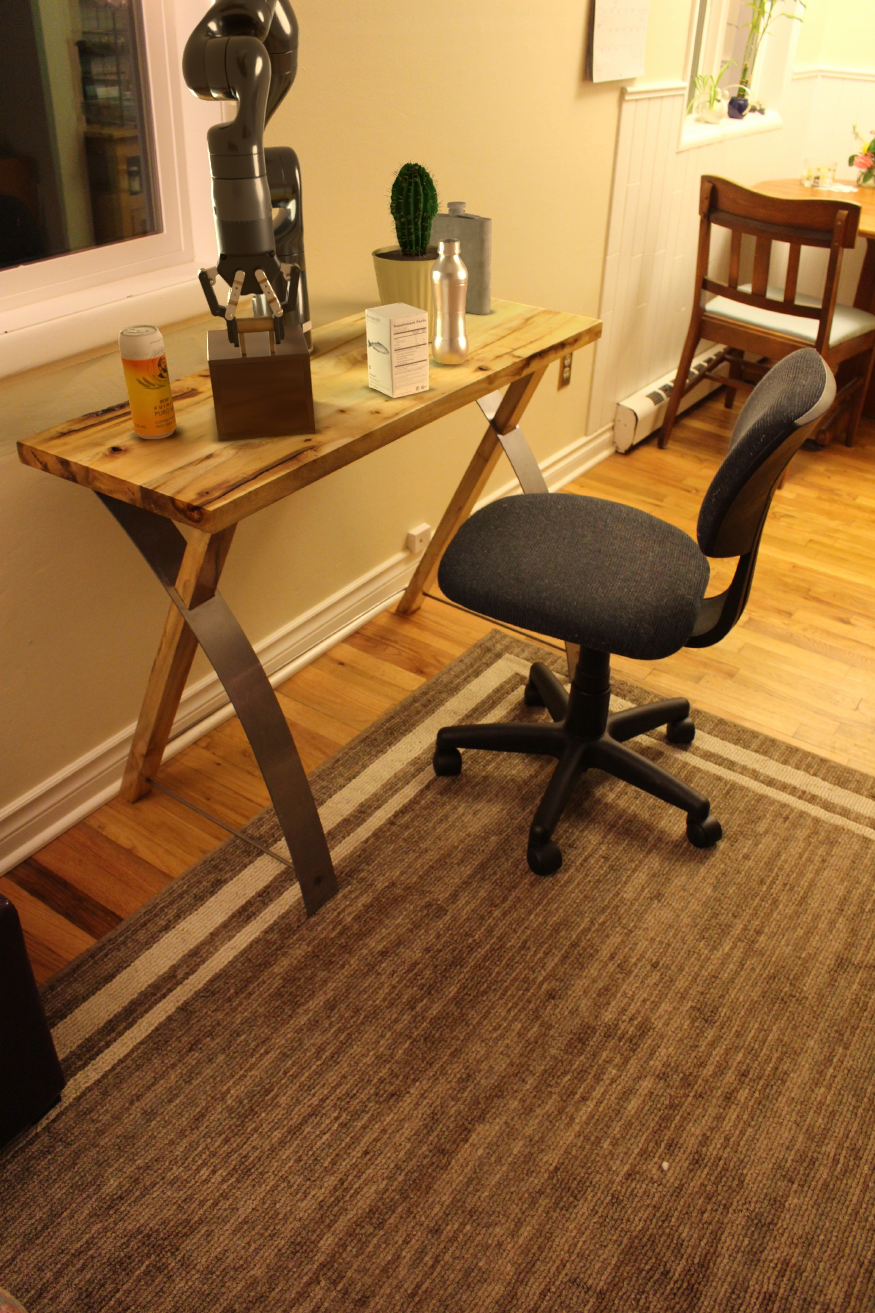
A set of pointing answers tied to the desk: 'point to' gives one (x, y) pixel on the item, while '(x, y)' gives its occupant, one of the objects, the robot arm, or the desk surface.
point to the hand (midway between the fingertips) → (257, 343)
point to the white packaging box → (397, 349)
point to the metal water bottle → (449, 304)
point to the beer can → (147, 381)
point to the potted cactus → (410, 243)
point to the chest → (263, 399)
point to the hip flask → (469, 251)
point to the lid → (256, 343)
